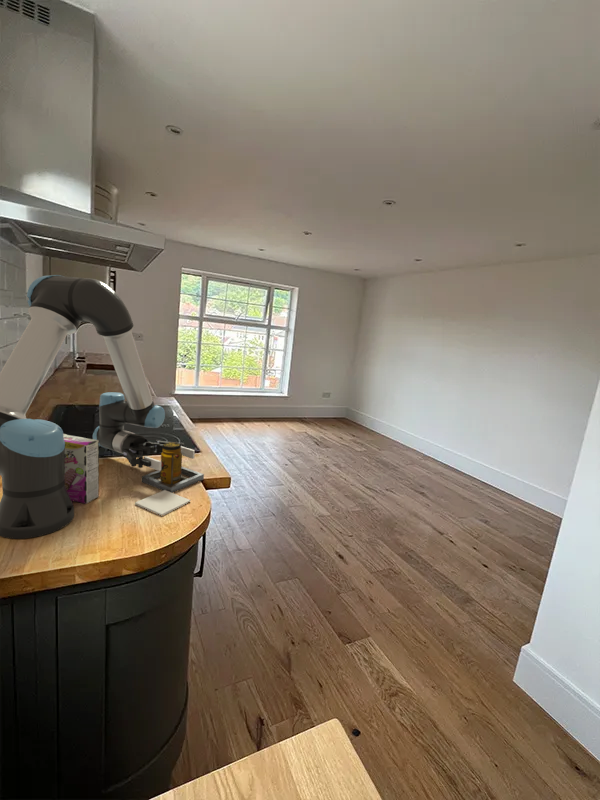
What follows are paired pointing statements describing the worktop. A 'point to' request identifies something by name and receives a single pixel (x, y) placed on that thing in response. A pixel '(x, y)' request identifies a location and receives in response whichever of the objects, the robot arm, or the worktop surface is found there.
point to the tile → (162, 502)
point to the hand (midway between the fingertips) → (178, 460)
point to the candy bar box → (81, 468)
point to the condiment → (171, 463)
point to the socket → (194, 478)
